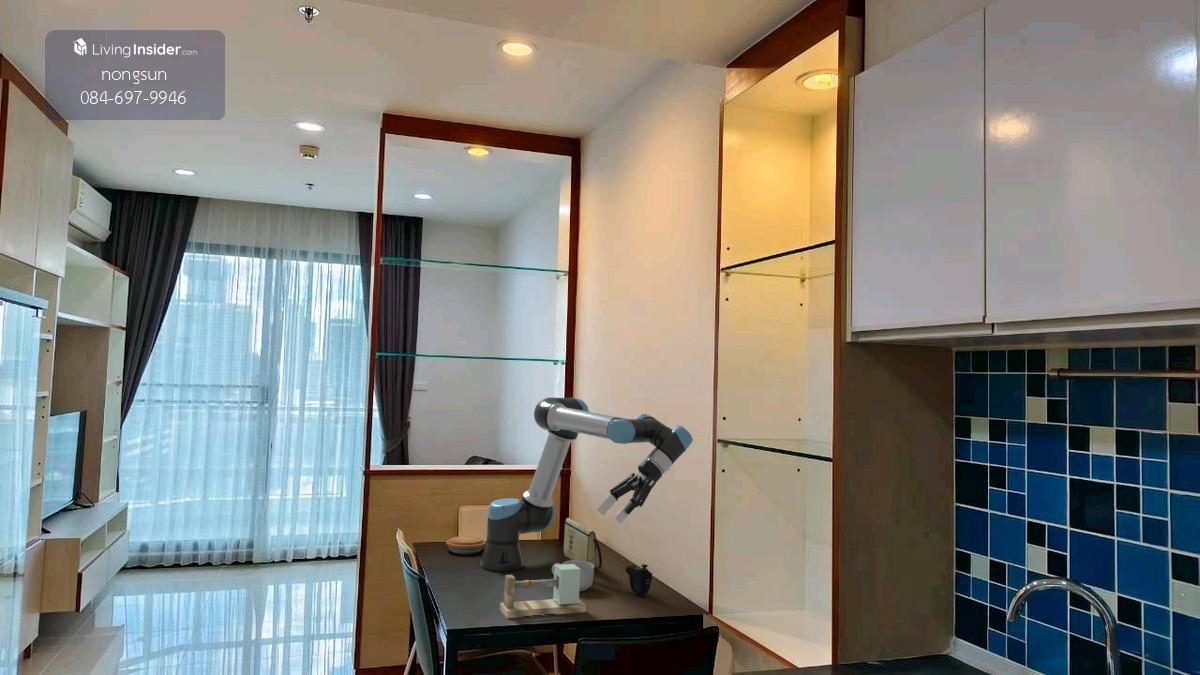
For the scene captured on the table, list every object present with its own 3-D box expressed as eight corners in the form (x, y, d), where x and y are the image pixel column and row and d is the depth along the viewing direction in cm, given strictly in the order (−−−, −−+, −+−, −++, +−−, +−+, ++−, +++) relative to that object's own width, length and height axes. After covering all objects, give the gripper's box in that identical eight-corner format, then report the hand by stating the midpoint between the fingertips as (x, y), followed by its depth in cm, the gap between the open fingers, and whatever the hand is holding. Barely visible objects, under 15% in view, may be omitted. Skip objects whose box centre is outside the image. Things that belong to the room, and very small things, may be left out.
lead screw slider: (576, 604, 228) (578, 569, 229) (586, 612, 220) (587, 575, 221) (499, 609, 219) (501, 573, 220) (506, 618, 211) (508, 580, 212)
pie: (450, 556, 280) (450, 543, 281) (441, 547, 295) (442, 534, 295) (490, 554, 287) (490, 541, 287) (480, 546, 301) (480, 533, 301)
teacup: (597, 587, 248) (598, 562, 248) (586, 595, 238) (587, 569, 238) (558, 581, 253) (560, 557, 253) (546, 589, 242) (547, 564, 243)
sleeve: (571, 597, 226) (573, 563, 227) (578, 603, 221) (580, 568, 221) (553, 598, 224) (554, 564, 225) (559, 604, 219) (561, 569, 219)
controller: (641, 599, 236) (642, 567, 236) (623, 589, 247) (624, 558, 247) (653, 598, 238) (654, 566, 238) (634, 588, 249) (635, 557, 249)
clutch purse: (606, 574, 266) (608, 531, 266) (588, 575, 263) (590, 532, 264) (577, 554, 293) (579, 516, 294) (560, 555, 290) (562, 516, 291)
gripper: (680, 480, 225) (633, 532, 219) (644, 470, 248) (600, 517, 242) (665, 462, 224) (617, 514, 217) (630, 454, 247) (586, 501, 240)
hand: (608, 516), depth 229 cm, fingers open, 13 cm apart
